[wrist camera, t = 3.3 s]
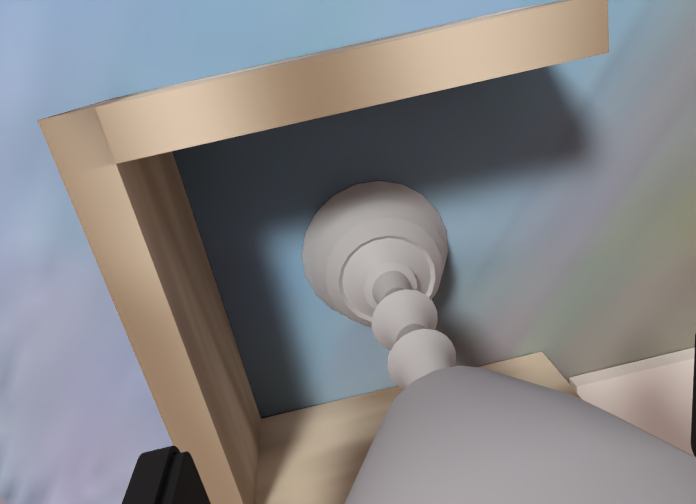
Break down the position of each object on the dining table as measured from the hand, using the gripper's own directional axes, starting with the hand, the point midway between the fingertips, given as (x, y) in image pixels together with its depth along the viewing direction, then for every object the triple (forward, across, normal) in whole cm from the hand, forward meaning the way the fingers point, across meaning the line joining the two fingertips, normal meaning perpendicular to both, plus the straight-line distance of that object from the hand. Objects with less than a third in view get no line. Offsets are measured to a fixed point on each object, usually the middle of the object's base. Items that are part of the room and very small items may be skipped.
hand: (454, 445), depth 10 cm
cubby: (+9, 0, 0) cm, 9 cm away
